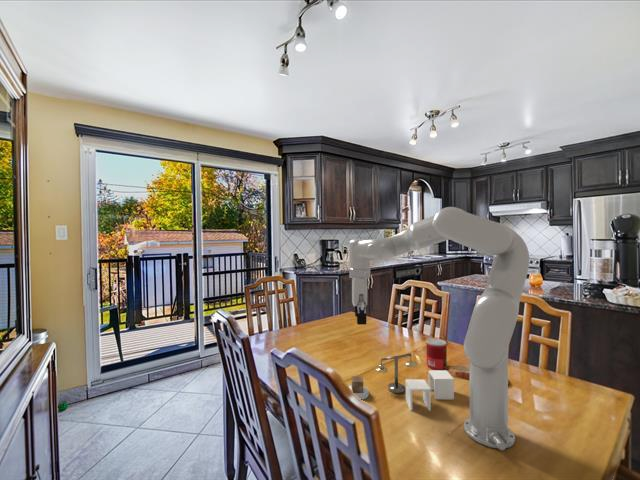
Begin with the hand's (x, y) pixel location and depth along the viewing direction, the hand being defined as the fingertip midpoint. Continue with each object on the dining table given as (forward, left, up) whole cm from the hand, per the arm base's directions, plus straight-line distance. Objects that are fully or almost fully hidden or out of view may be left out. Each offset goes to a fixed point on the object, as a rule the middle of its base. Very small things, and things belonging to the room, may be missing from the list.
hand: (360, 320), depth 108 cm
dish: (-1, +2, -26) cm, 26 cm away
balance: (+2, -13, -26) cm, 29 cm away
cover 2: (-1, -28, -26) cm, 39 cm away
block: (-1, +2, -25) cm, 25 cm away
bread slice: (+12, -47, -27) cm, 55 cm away
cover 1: (-8, -18, -26) cm, 33 cm away
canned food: (+21, -34, -26) cm, 48 cm away
